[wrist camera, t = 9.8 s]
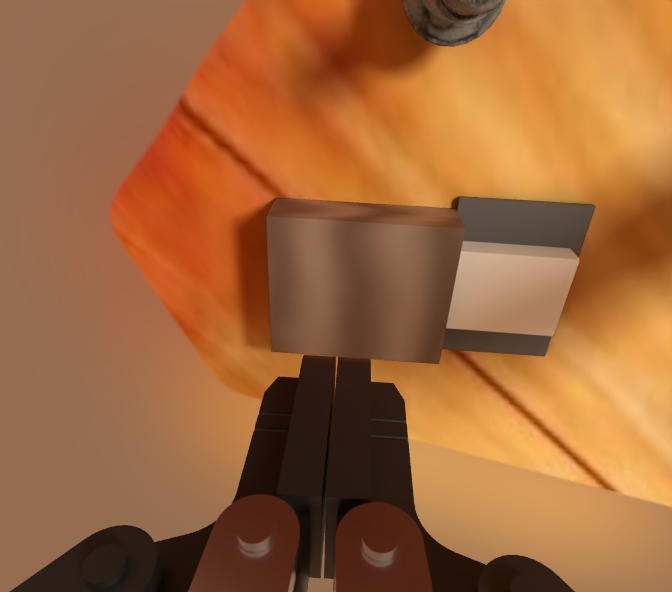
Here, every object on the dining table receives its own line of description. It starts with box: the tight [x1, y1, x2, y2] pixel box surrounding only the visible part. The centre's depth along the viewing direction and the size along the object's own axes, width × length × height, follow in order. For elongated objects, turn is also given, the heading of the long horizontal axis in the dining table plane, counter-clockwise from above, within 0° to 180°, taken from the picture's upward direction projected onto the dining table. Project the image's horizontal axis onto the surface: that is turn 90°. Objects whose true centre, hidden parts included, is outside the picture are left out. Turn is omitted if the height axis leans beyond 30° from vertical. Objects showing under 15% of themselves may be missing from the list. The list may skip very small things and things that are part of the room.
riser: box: [266, 198, 465, 364], centre depth 38 cm, size 14×12×4 cm
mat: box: [442, 196, 595, 356], centre depth 39 cm, size 10×14×1 cm
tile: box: [446, 241, 580, 336], centre depth 38 cm, size 9×7×2 cm
